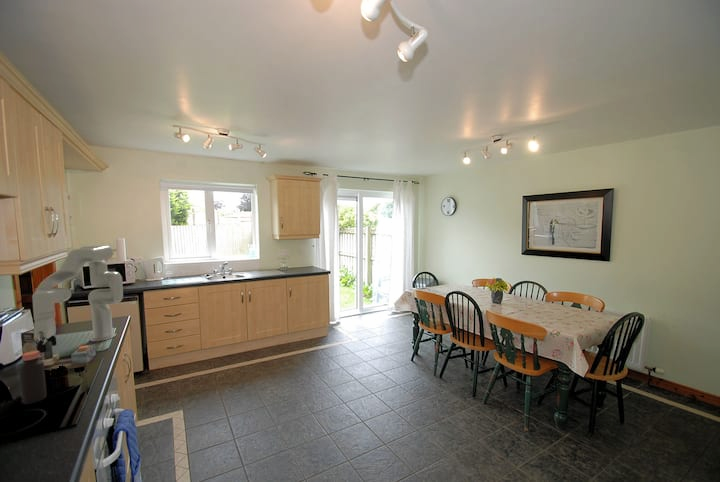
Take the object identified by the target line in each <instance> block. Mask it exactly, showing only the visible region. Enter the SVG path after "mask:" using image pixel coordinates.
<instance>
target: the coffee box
mask: <svg viewBox="0 0 720 482" xmlns="http://www.w3.org/2000/svg"><path fill="white" fill-rule="evenodd" d="M20 339H21V351H22V354H24V353H27V352H31V351H37V345H36V341H35V340H34V328H33V329H30V330H27V331H26V330H25V331H23V332H20ZM41 341H42V342H43V340H41ZM46 342H48V341H47V339H46ZM42 355H44V352H43V353H40V356H42ZM40 356H39V357H40Z"/></svg>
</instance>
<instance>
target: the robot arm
mask: <svg viewBox="0 0 720 482" xmlns="http://www.w3.org/2000/svg"><path fill="white" fill-rule="evenodd" d="M113 255H114V249H113V248H112V247H111V246H109V245H86V246H81V247H79V248H74V249H72V250H71V251H69V253H68V254H67V255H66V257H65V259H64V260H63V263H62V264H61V266H60V268H59V269H58V270H57V271H55V272H53V273H52V274H49V276H47V277H45V278H44V279H43V280H42V281H41V282H40V283H39V285H38V286H37V288H36V290H35V292H34V293H32V296H31V297H32V308H33V321H34V324H33V329H34V340H35V341H36V345H37V351H39V353H43V352H46V351H47V350H46V344H45V342H46V339H47V341H48V342H52V347H54V346H57V335H56V334H57V327H56V325H57V324H56V319H55V318H56V306H55V305H56V304H57V303H63V302H67V301H68V300H69V299H70V298H71V297H72V296H73V295H72V294H73V293H72V291H71V289H69V288H67V287H56V286H58V285H60V284H62V283H63V282H66V281H69V280H71V279H75V278H76V277H78V276H79V275H80V273H81V271H82V269H83V267H84V265H85V264H88V267H89V277H90V280H89V281H90V284H91V285H90V286H92V287H94V288H97V289H93V290H92V291H90V292H89V294H88V297H87V299H88V303H89V305H90V311H91V323H92V334H93V336H91V337H90V340H89V341H91V342H101V341H106V340H110V339H113V338H115V337H116V335H117V333H116V332H114V331H113V319H112V309H111V307H110V304H118V303H120V302H122V300H123V298H124V288H123V285H124V284H123V276H122V275H121V273H120V272H119V271H108V264H107V261H106V260H109V259H111V258H112V257H113ZM107 287H108V288H107ZM41 340H43V342H42V341H41Z"/></svg>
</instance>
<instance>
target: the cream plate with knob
mask: <svg viewBox="0 0 720 482" xmlns="http://www.w3.org/2000/svg"><path fill="white" fill-rule="evenodd" d="M45 344H46V350H47V351H46V352H44V358H43V359H42V360H41V361H43V362H44V366H48V365H52V364H53V363H55V362H56V361H57V360H60V354H59V353H57V354H54V353H53V352H54V351H53V346H52V342H45Z"/></svg>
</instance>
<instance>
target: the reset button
mask: <svg viewBox="0 0 720 482" xmlns="http://www.w3.org/2000/svg"><path fill="white" fill-rule="evenodd" d="M89 345H90V344H88V345H81V346H79V347H78V348H77V349H78V351H83V350H88V349H89Z"/></svg>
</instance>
